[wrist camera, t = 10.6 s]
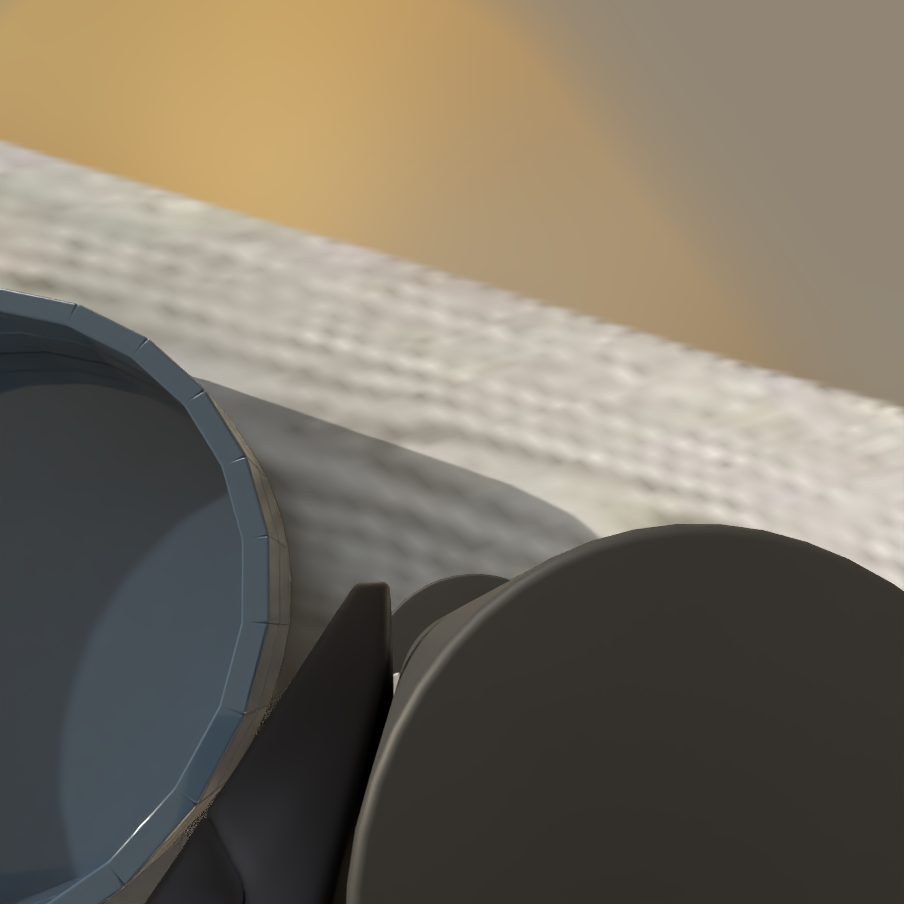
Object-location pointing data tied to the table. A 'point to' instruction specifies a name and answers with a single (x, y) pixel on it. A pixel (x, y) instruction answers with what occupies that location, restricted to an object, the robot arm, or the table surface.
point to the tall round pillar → (644, 731)
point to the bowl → (121, 601)
